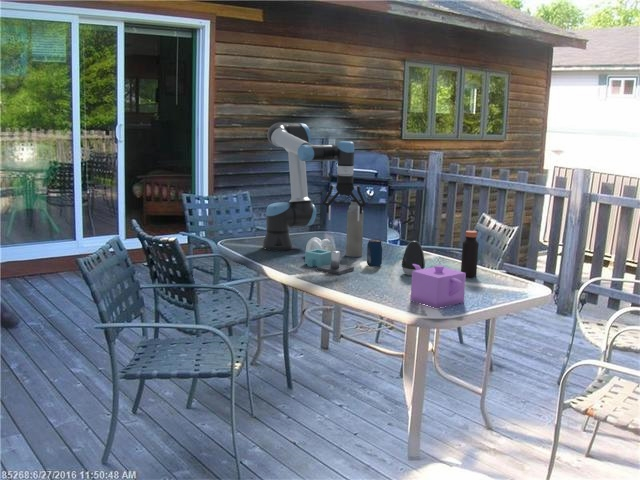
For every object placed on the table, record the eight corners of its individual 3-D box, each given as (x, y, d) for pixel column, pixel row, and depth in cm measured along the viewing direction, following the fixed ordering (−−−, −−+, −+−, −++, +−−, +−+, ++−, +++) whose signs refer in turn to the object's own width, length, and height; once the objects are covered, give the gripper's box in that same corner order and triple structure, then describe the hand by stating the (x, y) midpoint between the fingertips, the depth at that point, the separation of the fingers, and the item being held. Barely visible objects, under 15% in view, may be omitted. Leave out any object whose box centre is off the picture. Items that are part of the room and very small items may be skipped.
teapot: (424, 291, 260) (426, 256, 257) (474, 306, 241) (476, 269, 238) (397, 296, 251) (398, 261, 248) (446, 312, 231) (448, 274, 229)
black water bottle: (478, 277, 283) (481, 232, 280) (463, 278, 282) (467, 232, 279) (472, 274, 290) (475, 230, 286) (458, 274, 289) (461, 230, 285)
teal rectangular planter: (317, 268, 294) (317, 255, 293) (301, 265, 299) (302, 252, 298) (335, 263, 305) (335, 250, 304) (320, 260, 311) (320, 248, 309)
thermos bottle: (346, 253, 328) (348, 198, 323) (362, 253, 327) (364, 198, 322) (345, 256, 320) (347, 200, 315) (361, 257, 320) (363, 200, 314)
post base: (316, 270, 290) (316, 252, 288) (332, 266, 299) (332, 248, 297) (338, 274, 283) (339, 255, 281) (353, 270, 292) (354, 251, 290)
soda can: (383, 265, 304) (384, 239, 301) (378, 268, 297) (379, 242, 295) (369, 263, 306) (370, 238, 304) (364, 266, 300) (365, 240, 298)
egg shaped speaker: (426, 273, 290) (428, 239, 287) (422, 278, 280) (424, 243, 277) (403, 270, 293) (405, 237, 290) (398, 275, 284) (400, 241, 281)
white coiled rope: (301, 257, 316) (301, 239, 314) (310, 253, 327) (311, 235, 325) (322, 260, 312) (323, 241, 310) (331, 255, 322) (332, 237, 321)
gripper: (318, 175, 298) (317, 220, 302) (372, 176, 298) (370, 222, 301) (318, 173, 306) (317, 218, 310) (371, 175, 305) (370, 219, 309)
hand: (343, 220), depth 306 cm, fingers open, 13 cm apart
